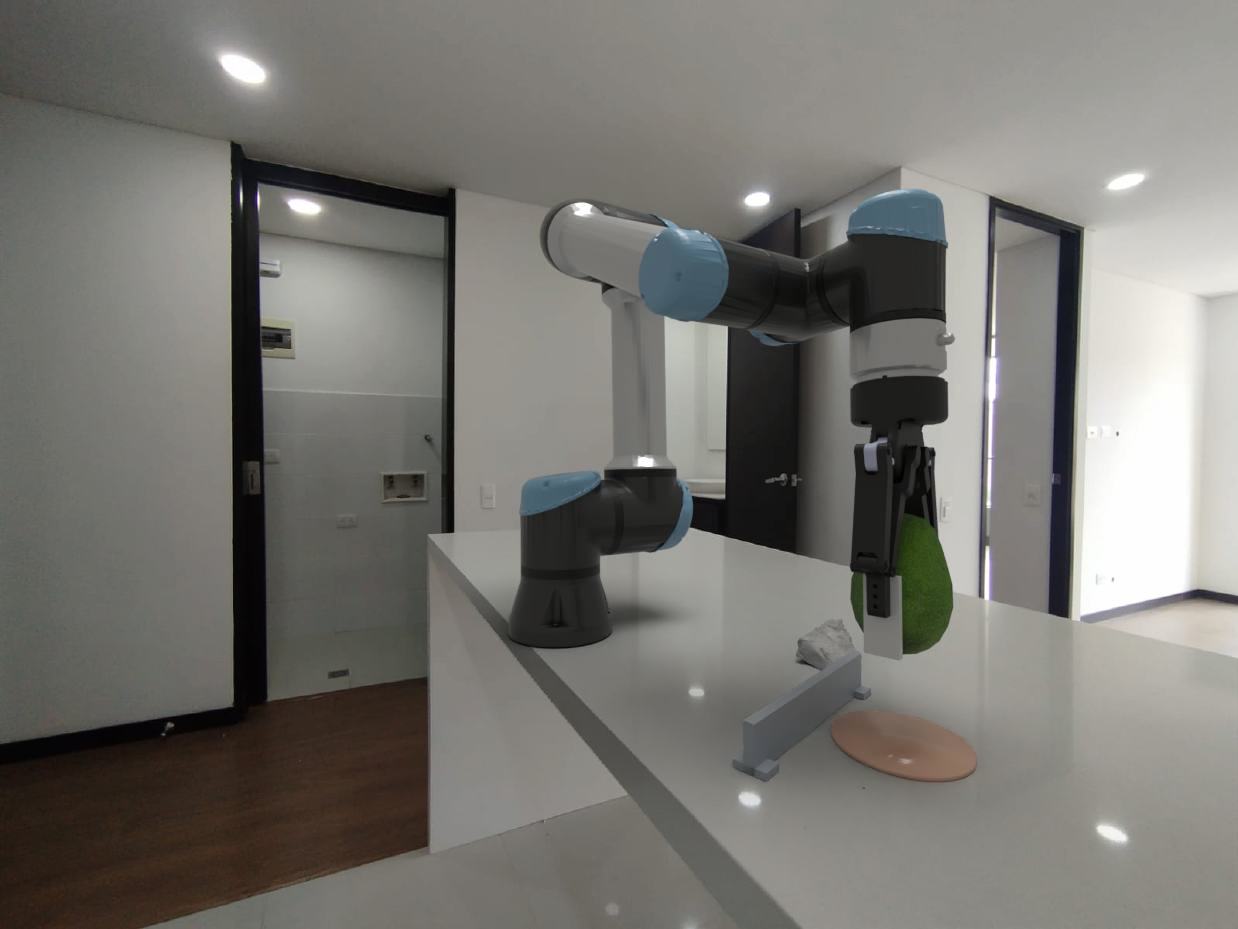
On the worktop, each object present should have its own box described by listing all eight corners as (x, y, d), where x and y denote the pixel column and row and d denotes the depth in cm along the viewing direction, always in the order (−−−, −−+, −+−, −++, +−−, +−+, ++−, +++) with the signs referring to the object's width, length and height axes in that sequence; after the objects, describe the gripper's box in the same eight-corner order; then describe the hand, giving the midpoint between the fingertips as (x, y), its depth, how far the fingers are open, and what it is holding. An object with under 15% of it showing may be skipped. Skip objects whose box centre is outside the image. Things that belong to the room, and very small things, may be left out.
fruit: (966, 673, 41) (964, 517, 41) (853, 661, 44) (852, 514, 44) (943, 642, 48) (941, 509, 48) (848, 633, 51) (846, 508, 51)
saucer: (810, 745, 46) (810, 740, 46) (858, 704, 54) (858, 700, 54) (957, 800, 38) (957, 794, 38) (989, 743, 46) (989, 738, 46)
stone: (882, 656, 69) (881, 623, 69) (843, 680, 60) (843, 643, 60) (832, 645, 73) (832, 615, 74) (790, 666, 65) (789, 631, 65)
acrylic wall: (732, 766, 43) (732, 716, 43) (842, 685, 58) (842, 649, 58) (766, 781, 41) (766, 729, 41) (871, 693, 56) (870, 655, 56)
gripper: (906, 354, 36) (910, 691, 36) (974, 387, 51) (978, 625, 51) (801, 370, 41) (804, 663, 41) (891, 395, 56) (893, 611, 56)
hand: (900, 642), depth 46 cm, fingers closed on fruit, 8 cm apart
